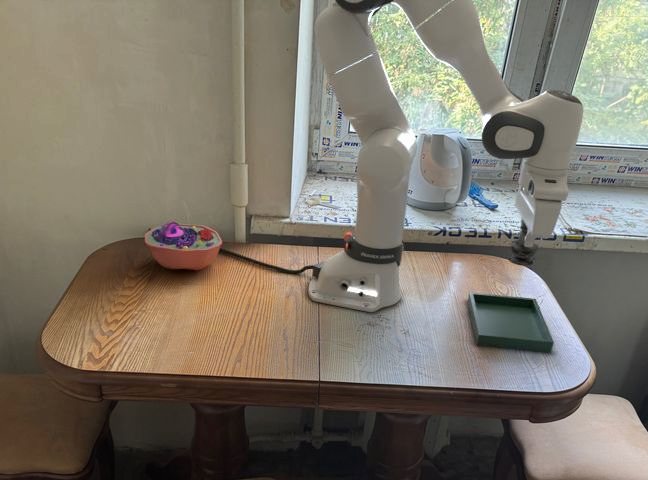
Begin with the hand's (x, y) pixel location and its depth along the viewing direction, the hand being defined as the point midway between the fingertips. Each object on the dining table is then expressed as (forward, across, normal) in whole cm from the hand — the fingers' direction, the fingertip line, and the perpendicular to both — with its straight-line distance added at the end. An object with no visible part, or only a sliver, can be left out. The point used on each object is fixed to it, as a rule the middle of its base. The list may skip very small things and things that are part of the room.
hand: (525, 241), depth 129 cm
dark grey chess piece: (+5, 0, 0) cm, 5 cm away
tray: (+19, +4, 0) cm, 19 cm away
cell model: (+19, -11, -79) cm, 82 cm away
